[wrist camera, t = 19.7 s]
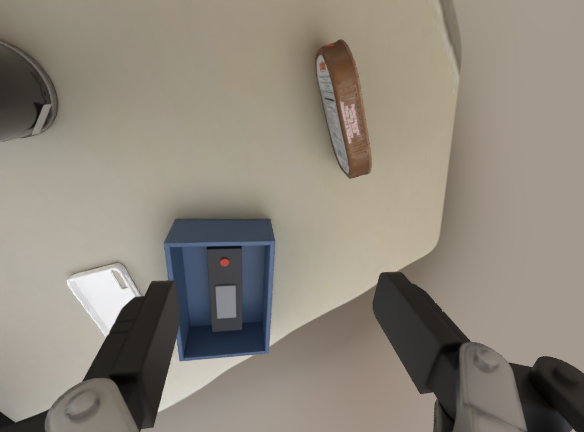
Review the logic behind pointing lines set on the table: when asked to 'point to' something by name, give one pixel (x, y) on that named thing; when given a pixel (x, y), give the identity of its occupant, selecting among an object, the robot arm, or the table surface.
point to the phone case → (103, 293)
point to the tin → (344, 108)
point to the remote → (225, 287)
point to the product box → (5, 421)
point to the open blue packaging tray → (195, 285)
